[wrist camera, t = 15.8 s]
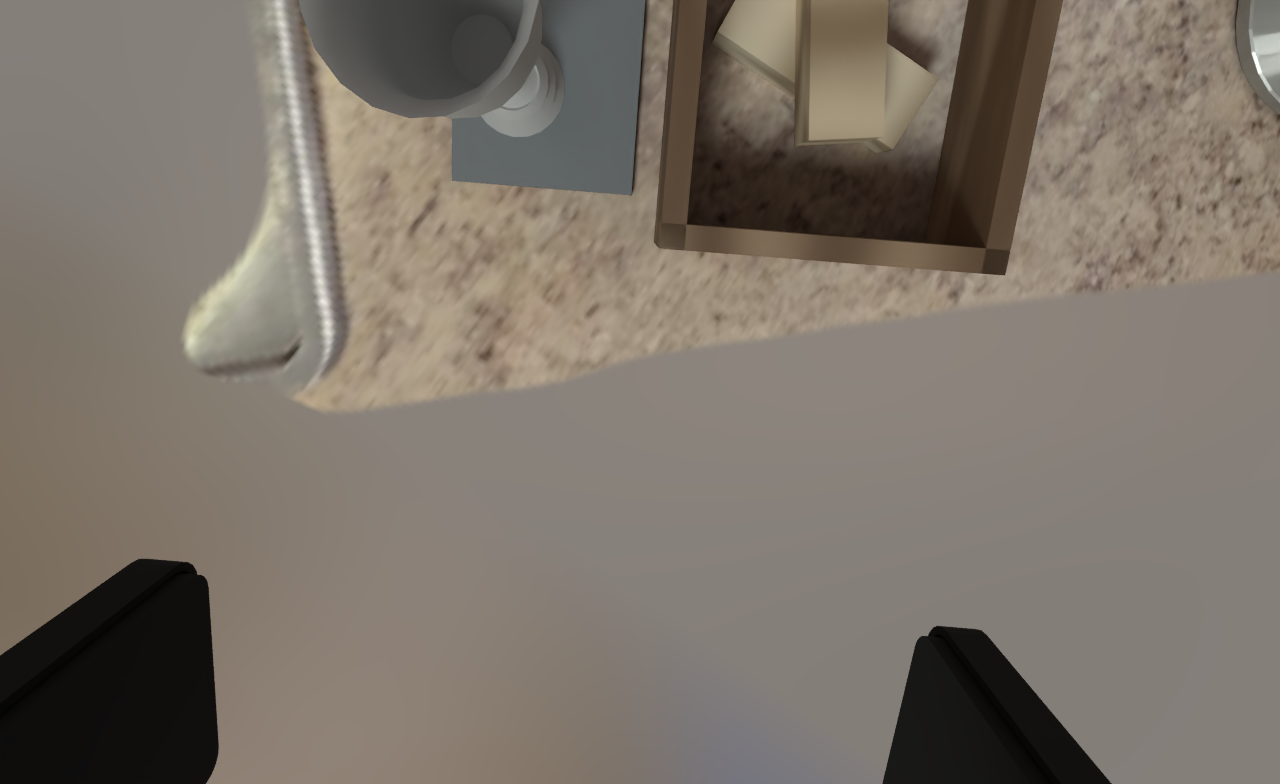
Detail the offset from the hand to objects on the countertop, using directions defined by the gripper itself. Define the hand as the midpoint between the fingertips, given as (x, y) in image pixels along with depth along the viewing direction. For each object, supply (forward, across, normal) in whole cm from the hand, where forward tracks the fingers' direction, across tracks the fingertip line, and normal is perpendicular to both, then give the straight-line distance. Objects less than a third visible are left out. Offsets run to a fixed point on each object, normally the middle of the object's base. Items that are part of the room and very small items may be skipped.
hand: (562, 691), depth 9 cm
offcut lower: (+33, -10, -15) cm, 38 cm away
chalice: (+32, +6, -12) cm, 35 cm away
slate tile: (+33, +5, -12) cm, 35 cm away
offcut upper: (+30, -10, -15) cm, 35 cm away
